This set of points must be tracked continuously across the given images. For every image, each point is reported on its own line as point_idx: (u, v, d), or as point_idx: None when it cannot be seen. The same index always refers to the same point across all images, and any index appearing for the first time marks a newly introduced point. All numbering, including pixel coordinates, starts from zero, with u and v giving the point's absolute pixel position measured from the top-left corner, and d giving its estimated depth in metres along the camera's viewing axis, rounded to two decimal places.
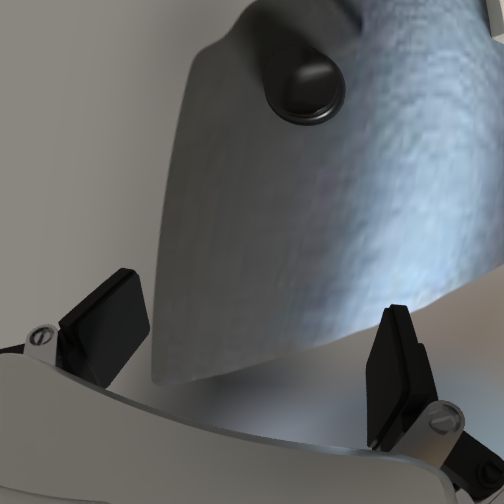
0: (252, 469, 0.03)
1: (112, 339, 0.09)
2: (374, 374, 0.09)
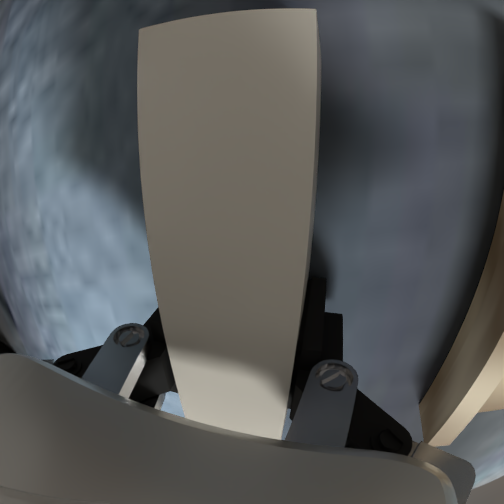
0: (252, 469, 0.03)
1: None
2: None
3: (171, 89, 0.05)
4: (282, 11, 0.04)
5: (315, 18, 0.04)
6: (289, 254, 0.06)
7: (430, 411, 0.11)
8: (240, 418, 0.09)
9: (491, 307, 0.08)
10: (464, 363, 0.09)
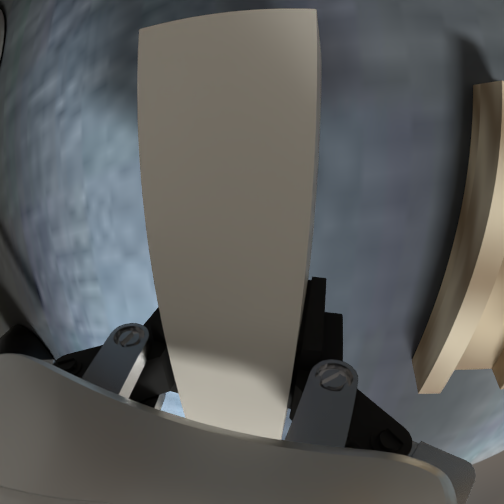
0: (252, 469, 0.03)
1: None
2: None
3: (171, 89, 0.05)
4: (282, 11, 0.04)
5: (315, 18, 0.04)
6: (290, 254, 0.06)
7: (421, 361, 0.14)
8: (239, 418, 0.09)
9: (461, 263, 0.11)
10: (444, 313, 0.12)
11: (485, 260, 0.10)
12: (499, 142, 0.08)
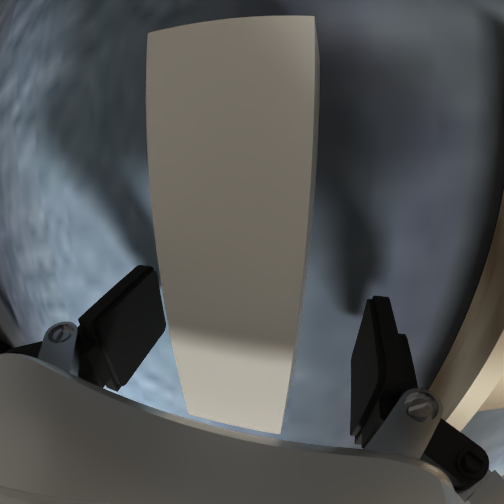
0: (252, 469, 0.03)
1: (131, 336, 0.10)
2: (357, 364, 0.09)
3: (178, 90, 0.05)
4: (282, 18, 0.04)
5: (313, 25, 0.04)
6: (289, 246, 0.06)
7: None
8: (241, 409, 0.09)
9: (491, 306, 0.08)
10: (464, 361, 0.09)
11: None
12: None
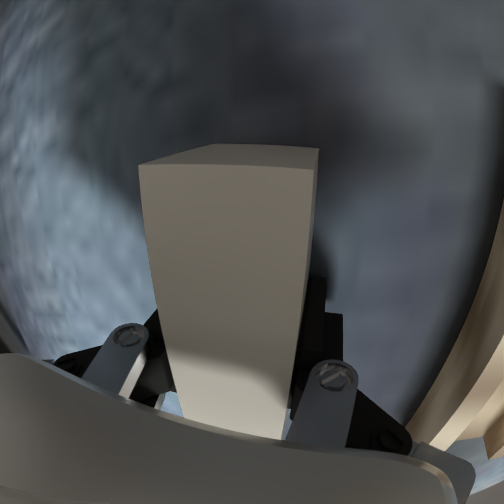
0: (252, 469, 0.03)
1: None
2: None
3: (176, 236, 0.06)
4: (279, 165, 0.05)
5: (312, 180, 0.05)
6: (280, 365, 0.07)
7: None
8: None
9: (462, 367, 0.09)
10: (437, 408, 0.10)
11: (489, 374, 0.08)
12: None
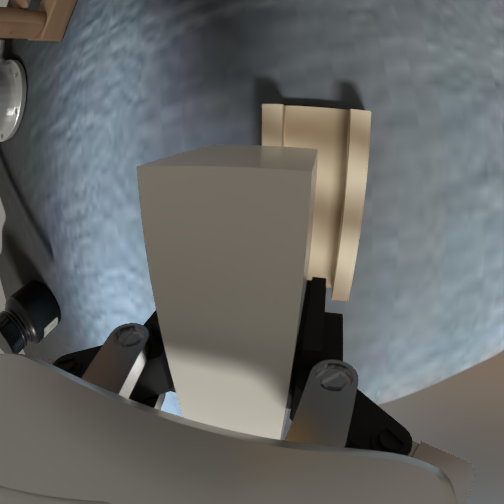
0: (252, 469, 0.03)
1: None
2: None
3: (175, 237, 0.06)
4: (278, 167, 0.05)
5: (310, 182, 0.05)
6: (278, 366, 0.07)
7: None
8: None
9: None
10: None
11: None
12: (262, 137, 0.21)
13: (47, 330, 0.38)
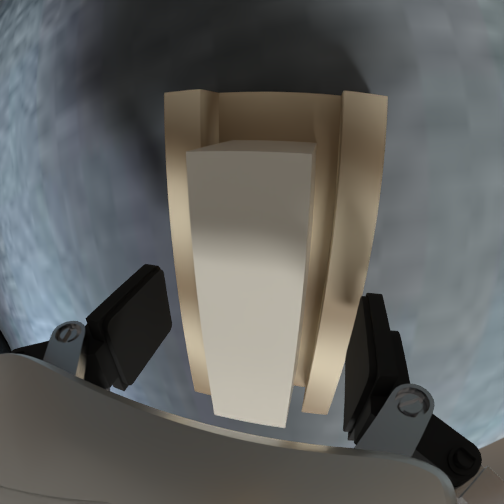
0: (252, 469, 0.03)
1: (138, 335, 0.10)
2: (351, 361, 0.09)
3: (214, 203, 0.09)
4: (289, 152, 0.08)
5: (311, 161, 0.07)
6: (290, 306, 0.09)
7: None
8: (255, 409, 0.12)
9: None
10: None
11: (184, 272, 0.13)
12: (166, 157, 0.11)
13: None
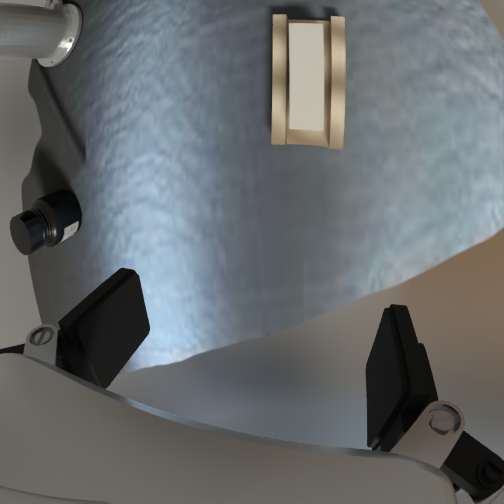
0: (252, 469, 0.03)
1: (112, 339, 0.09)
2: (374, 374, 0.09)
3: (297, 35, 0.24)
4: (317, 24, 0.23)
5: (322, 25, 0.23)
6: (320, 63, 0.25)
7: None
8: (309, 118, 0.28)
9: None
10: None
11: (276, 72, 0.28)
12: None
13: (67, 231, 0.44)
